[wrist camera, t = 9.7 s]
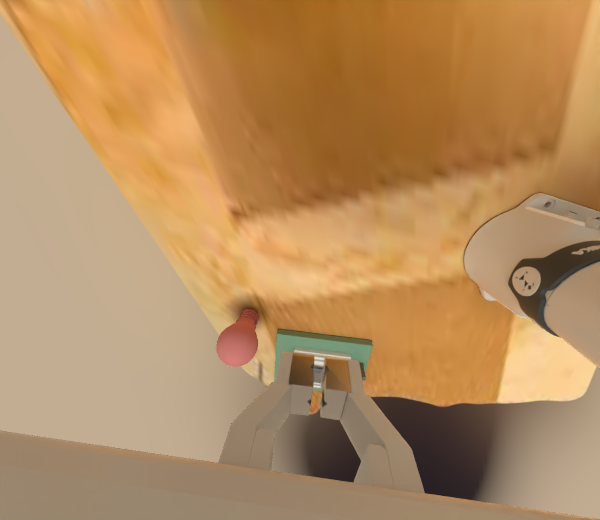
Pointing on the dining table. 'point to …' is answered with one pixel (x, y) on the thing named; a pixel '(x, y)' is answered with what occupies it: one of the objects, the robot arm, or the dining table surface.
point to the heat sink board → (323, 348)
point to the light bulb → (239, 340)
